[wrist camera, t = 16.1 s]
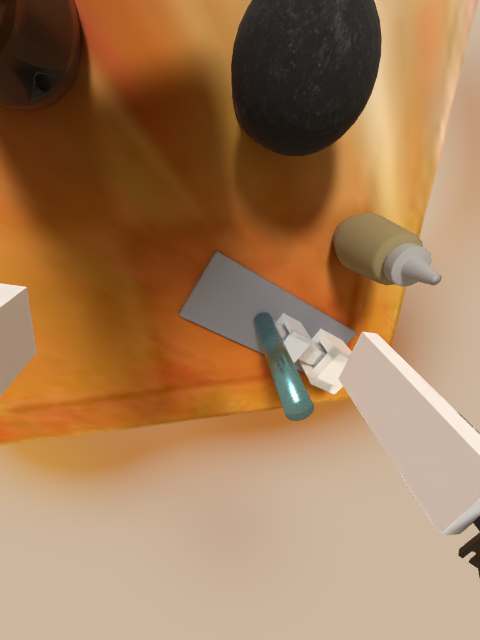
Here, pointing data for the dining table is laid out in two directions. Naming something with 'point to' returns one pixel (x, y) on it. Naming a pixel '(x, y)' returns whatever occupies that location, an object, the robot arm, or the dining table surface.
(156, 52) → the dining table surface
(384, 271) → the squeeze bottle
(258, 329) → the tube
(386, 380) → the robot arm
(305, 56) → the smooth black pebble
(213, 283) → the socket
